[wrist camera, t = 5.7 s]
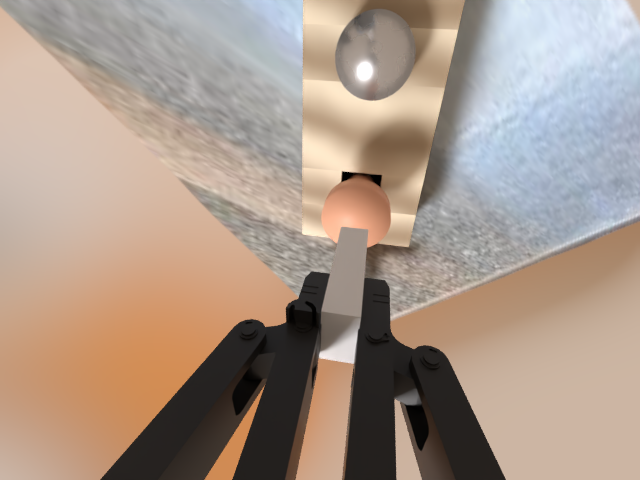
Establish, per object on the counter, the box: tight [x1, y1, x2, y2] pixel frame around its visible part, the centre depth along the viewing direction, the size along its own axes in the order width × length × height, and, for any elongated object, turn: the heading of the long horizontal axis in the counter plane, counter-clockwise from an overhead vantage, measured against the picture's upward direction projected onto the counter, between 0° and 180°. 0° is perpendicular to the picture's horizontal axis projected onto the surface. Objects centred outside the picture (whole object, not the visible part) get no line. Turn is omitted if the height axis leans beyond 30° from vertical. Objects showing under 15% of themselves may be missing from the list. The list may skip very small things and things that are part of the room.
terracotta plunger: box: [321, 173, 391, 247], centre depth 30 cm, size 6×6×8 cm
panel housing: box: [302, 0, 465, 247], centre depth 31 cm, size 24×12×6 cm, turn 178°
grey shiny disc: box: [335, 9, 416, 101], centre depth 27 cm, size 6×6×8 cm
